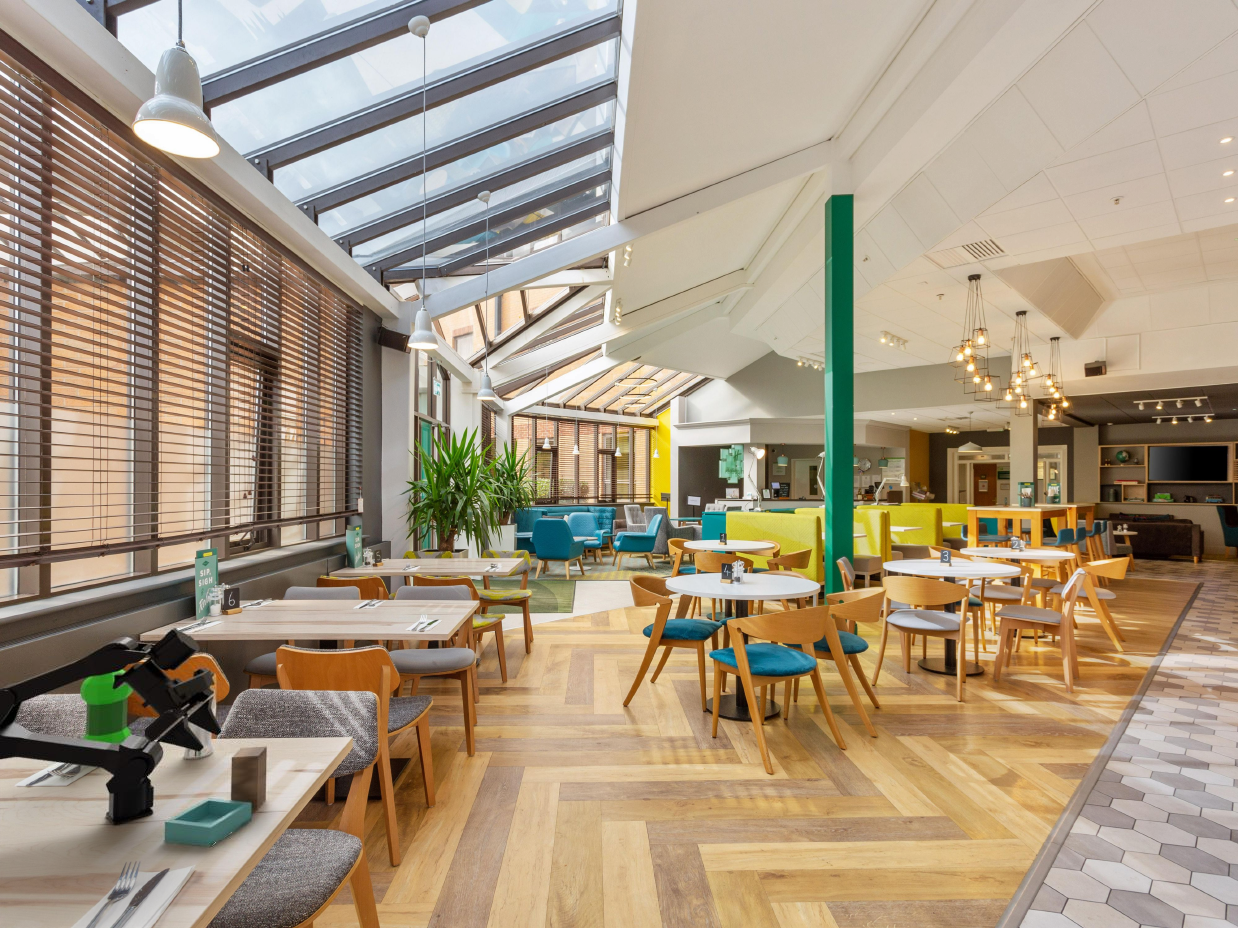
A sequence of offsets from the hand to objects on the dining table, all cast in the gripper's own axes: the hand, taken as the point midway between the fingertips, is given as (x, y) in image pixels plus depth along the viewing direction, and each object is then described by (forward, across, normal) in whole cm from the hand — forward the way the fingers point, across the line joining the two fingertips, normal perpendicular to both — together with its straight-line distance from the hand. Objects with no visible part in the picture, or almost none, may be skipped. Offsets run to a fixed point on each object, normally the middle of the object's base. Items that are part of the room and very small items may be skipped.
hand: (210, 741), depth 139 cm
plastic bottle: (-14, +34, +35) cm, 51 cm away
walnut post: (+15, 0, +4) cm, 15 cm away
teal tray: (+12, -10, +6) cm, 17 cm away
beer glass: (+1, +31, +19) cm, 37 cm away
